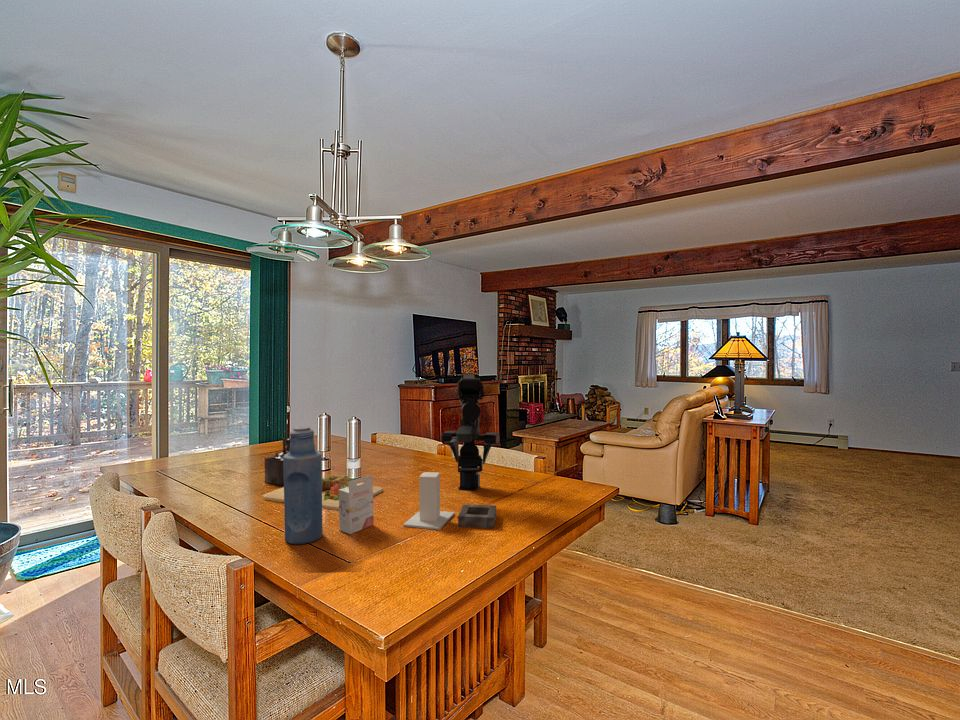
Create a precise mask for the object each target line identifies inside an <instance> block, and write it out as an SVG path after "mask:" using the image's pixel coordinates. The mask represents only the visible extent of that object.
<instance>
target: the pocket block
mask: <svg viewBox="0 0 960 720" xmlns="http://www.w3.org/2000/svg"><path fill="white" fill-rule="evenodd" d="M496 519H497V505H489V504H488V505H487V504H463V505H462V507H461V509H460V511H459V514H458V515H457V526H458V528H479V529H480V528H481V529H482V528H483V529H494V528H495V523H496Z"/></svg>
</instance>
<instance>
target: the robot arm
mask: <svg viewBox="0 0 960 720" xmlns="http://www.w3.org/2000/svg"><path fill="white" fill-rule="evenodd" d="M456 385H457V386H456V389H457V390H456V391H457V392H456V393H457V394H456V395H457V397H458V402H459V404H460V405H461V419H460V424H459V427H458V428H457V430H446V431H444V432H442V433H441V435H440V437H441V438H440V439H441V442H444V443H445V445H448V446H449V447H450V449H451V451H452V452H451V453H453V456H454V460H455V462H456V463H457V473H459V486H458V490H467V491H476V490H477V489H478V488H479V487H480V485H481V476H480V474H479V473H481V472H482V471H483V465H485V464H486V461H487V459H488V456H489V453H490V450H491V449H492V447H493V446H494V445H497V444H498V443H499V442H500V441H501V440H500V436H501V435H500V434H499V433H498V432H491V431H488V432H486V433H484V434H480V433H481V432H480V421H481V420H480V415H481V408H480V404H479V403H480V400H481V401H482V400H483V398H484V397H485V391H484V389H485V388H484V384H483V382H482V381H480V378H479V377H478V378H477V377H476V373H474V372H464V373H461V377H460V379H459V380H458V381H457V384H456ZM475 441H483V442H484V443H483V445H482V447H483V454H482V455H480V450H479V447H478V446H477V445H476V444H475ZM462 442H463V444H462V446H461V447H459V445H460V444H459V443H462Z"/></svg>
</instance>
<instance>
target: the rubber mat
mask: <svg viewBox="0 0 960 720" xmlns="http://www.w3.org/2000/svg"><path fill="white" fill-rule="evenodd" d="M454 515H455V511H454V512H453V511H443V510H440V516H439V518H438V520H437V521H420V510H419V511H417V512H415V514H414V515H413V516H411V517H410V518H409V519H408V520H407V521H406V522H404V523H403V527H407V528H417V529H426V530H435V531H436V530H437V531H440V530H441V529H443V527H444V526H445V525H446V524H447V523H448V522H449V521H450V520H451V519H452V517H454Z"/></svg>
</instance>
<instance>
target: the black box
mask: <svg viewBox="0 0 960 720" xmlns="http://www.w3.org/2000/svg"><path fill="white" fill-rule="evenodd" d="M290 443H291V438H290V437H287V438H286V437H285V438H282V443H281V444H282V451H279V452H277V453H275V454H274V455H273V456H268V457H267V456H266V457H264V483H267V484H272V485H278V486H279V485H280V486H284V476H283V456H284V455H285V454H287V453H290Z"/></svg>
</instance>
